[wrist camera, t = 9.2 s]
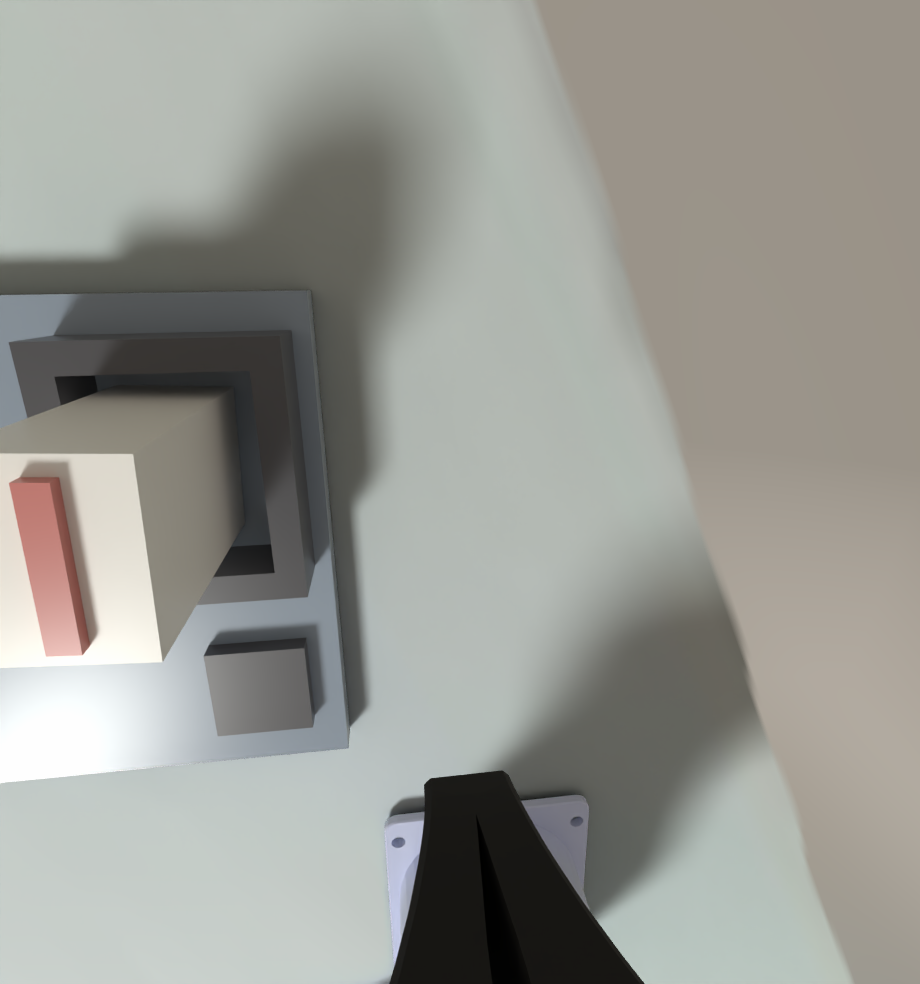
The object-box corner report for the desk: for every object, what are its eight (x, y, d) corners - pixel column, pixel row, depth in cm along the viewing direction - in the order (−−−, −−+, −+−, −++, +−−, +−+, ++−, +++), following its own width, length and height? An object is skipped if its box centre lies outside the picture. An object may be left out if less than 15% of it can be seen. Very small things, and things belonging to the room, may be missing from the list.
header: (315, 565, 19) (307, 597, 17) (108, 579, 18) (76, 613, 16) (291, 329, 16) (279, 336, 14) (53, 335, 16) (8, 342, 14)
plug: (244, 522, 18) (156, 672, 11) (137, 523, 17) (-24, 678, 11) (233, 386, 17) (126, 458, 10) (117, 384, 16) (-82, 458, 9)
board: (349, 728, 22) (347, 761, 20) (-10, 762, 20) (-40, 800, 19) (311, 290, 17) (304, 290, 15) (-164, 297, 16) (-223, 298, 14)
